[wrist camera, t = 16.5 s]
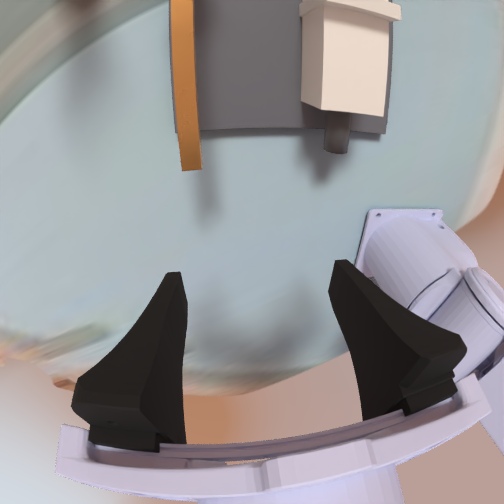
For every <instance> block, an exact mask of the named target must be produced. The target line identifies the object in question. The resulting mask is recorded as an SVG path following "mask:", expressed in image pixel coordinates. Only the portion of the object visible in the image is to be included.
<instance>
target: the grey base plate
mask: <svg viewBox="0 0 504 504" xmlns="http://www.w3.org/2000/svg"><path fill="white" fill-rule="evenodd" d="M388 2H391V3H392V0H388ZM300 3H302V0H194V4H195V49H196V73H197V92H198V109H199V124H200V131H203V130H217V129H234V128H318V129H325V125H326V111H327V110H321V109H319V108H316V107H314V106H312V105H309V104H307V103H305V102H302V101H301V80H302V17H299V4H300ZM169 42H170V66H171V84H172V99H173V111H174V123H175V133H178V128H177V117H176V106H175V93H174V78H173V60H172V36H171V0H169ZM392 51H393V22H389V48H388V70H387V84H386V96H385V106H384V115H383V117H381V116H375V115H368V114H360V113H352V112H351V122H350V131H360V132H369V133H378V134H385V133H386V125H387V117H388V108H389V98H390V87H391V72H392Z"/></svg>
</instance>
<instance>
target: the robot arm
mask: <svg viewBox="0 0 504 504" xmlns="http://www.w3.org/2000/svg"><path fill="white" fill-rule="evenodd" d="M378 213H379V215H378V216H376V215H377V214H378ZM442 216H443V211H442V210H441V209H371V210H370V211H369V212H368V214H367V219H366V223H365V228H364V232H363V236H362V240H361V244H360V248H359V252H358V256H357V260H356V264H355V266H354V265H353V264H352V263H351V262H349V261H348V260H347V259H345V260H335V263H334V268H333V272H332V277H331V281H330V286H329V290H328V293H329V297H330V300H331V304H332V308H333V311H334V313H335V316H336V318H337V321H338V323H339V325H340V328H341V330H342V333H343V335H344V338H345V340H346V343H347V345H348V348H349V351H350V354H351V358H352V362H353V366H354V370H355V374H356V378H357V383H358V388H359V395H360V401H361V408H362V417H363V421H362V422H359V423H356V424H352V425H348V426H344V427H339V428H335V429H331V430H326V431H322V432H317V433H312V434H307V435H301V436H295V437H288V438H282V439H274V440H266V441H256V442H245V443H232V444H197V445H195V444H187V443H186V434H185V425H184V410H183V389H182V366H183V355H184V347H185V338H186V330H187V316H188V302H187V298H186V294H185V290H184V285H183V281H182V277H181V272H168V273H167V274H166V275H165V277H164V279H163V280H162V282H161V284H160V286H159V287H158V289H157V291H156V293H155V294H154V296H153V297H152V299H151V301H150V302H149V304H148V305H147V307H146V309H145V310H144V311H143V313H142V314H141V316H140V317H139V319H138V320H137V321H136V323H135V324H134V325H133V327H132V328H131V329H130V330H129V332H128V333H127V334H126V335H125V337H124V338H123V339H122V340H121V341H120V342H119V343H118V344H117V345H116V346H115V347H114V348H113V350H112V351H111V352H109V353H108V354H107V355H106V356H105V357H104V358H103V359H102V360H101V361H100V362H99V363H97V364H96V365H95V366H94V367H92V368H91V369H90V370H88V371H87V372H86V373H84V374H83V375H82V376H80V377H79V378H78V380H77V383H76V386H75V390H74V394H73V399H72V404H71V407H72V409H73V411H74V412H75V413H76V414H77V415H78V416H80V417H81V418H82V419H84V420H85V421H86V422H87V423H89V424H90V430H86V429H83V428H80V427H75V426H70V425H66V424H62V425H61V430H60V437H59V443H58V450H57V457H56V466H55V473H56V474H58V475H60V476H63V477H65V478H69V479H71V480H74V481H77V482H80V483H83V484H86V485H89V486H93V487H97V488H101V489H106V490H110V491H115V492H120V493H125V494H130V495H136V496H143V497H150V498H158V499H167V500H179V501H197V504H405V501H404V498H403V493H402V490H401V486H400V482H399V479H398V475H397V471H396V468H395V466H396V465H399V464H401V463H403V462H405V461H408V460H410V459H412V458H414V457H416V456H419V455H421V454H423V453H425V452H427V451H429V450H430V449H433V448H435V447H437V446H439V445H441V444H442V443H444V442H446V441H448V440H450V439H451V438H453V437H455V436H457V435H458V434H460V433H462V432H463V431H465V430H466V429H468V428H469V427H471V426H472V425H474V424H475V423H476V422H478V421H479V422H480V423H481V424H482V426H483V427H484V429H485V430H486V431H487V432H488V434H489V435H490V437H491V438H492V439H493V441H494V443H495V444H496V445H497V447H498V448H499V450H500V451H501V452H502V454H503V456H504V290H503V289H502V288H501V286H500V285H499V284H498V283H497V282H496V281H495V280H494V279H493V278H492V277H491V276H490V275H489V274H488V273H487V272H485V271H484V270H482V269H481V268H479V267H478V263H477V260H476V258H475V255H474V254H473V252H472V251H471V250H470V249H469V247H468V246H467V245H466V244H465V243H464V242H463V241H462V240H461V239H460V238H459V237H458V236H457V235H456V234H455V233H454V232H453V231H452V230H451V229H450V228H449V227H448V226H447V225H446V224H445V223H444V222H443V221H442V220H441V219H442ZM368 277H374V278H375V280H376V281H377V283H378V285H379V286H380V288H381V289H380V288H379V287H378V286H376V285H375V284H374V283H373V282H372V281H371V280H370V279H368ZM264 458H270V459H267V460H264V461H257V462H251V463H244V464H235V465H227V464H226V463H225V461H242V460H254V459H264Z"/></svg>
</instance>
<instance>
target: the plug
mask: <svg viewBox="0 0 504 504" xmlns="http://www.w3.org/2000/svg"><path fill="white" fill-rule="evenodd" d="M299 17H302V80H301V101H302V102H305V103H307V104H309V105H312V106H314V107H316V108H319V109H321V110H327V111H326V125H325V137H324V150H325V151H328V152H331V153H336V154H345V153H347V150H348V141H349V132H350V122H351V112H352V113H360V114H368V115H375V116H381V117H383V115H384V106H385V96H386V84H387V70H388V48H389V22H393V21H401V6H400V5H397V4H394V3H391V2H388V0H302V3H300V4H299Z"/></svg>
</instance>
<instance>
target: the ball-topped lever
mask: <svg viewBox="0 0 504 504" xmlns="http://www.w3.org/2000/svg"><path fill="white" fill-rule="evenodd" d="M171 36H172V60H173V78H174V93H175V106H176V117H177V128H178V138H179V148H180V157H181V166H182V171H189V170H200V169H202V164H203V162H202V150H201V138H200V124H199V109H198V92H197V73H196V49H195V4H194V0H171Z"/></svg>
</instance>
